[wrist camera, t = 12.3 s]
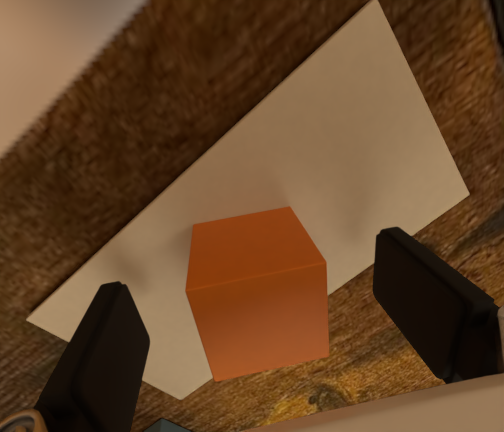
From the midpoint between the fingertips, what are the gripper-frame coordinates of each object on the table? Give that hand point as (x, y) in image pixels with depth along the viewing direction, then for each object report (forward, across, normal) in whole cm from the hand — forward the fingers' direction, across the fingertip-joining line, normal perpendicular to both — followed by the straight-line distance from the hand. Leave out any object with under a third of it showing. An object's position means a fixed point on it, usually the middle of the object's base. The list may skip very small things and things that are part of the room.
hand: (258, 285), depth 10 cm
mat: (+2, 0, 0) cm, 2 cm away
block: (+2, 0, 0) cm, 2 cm away
